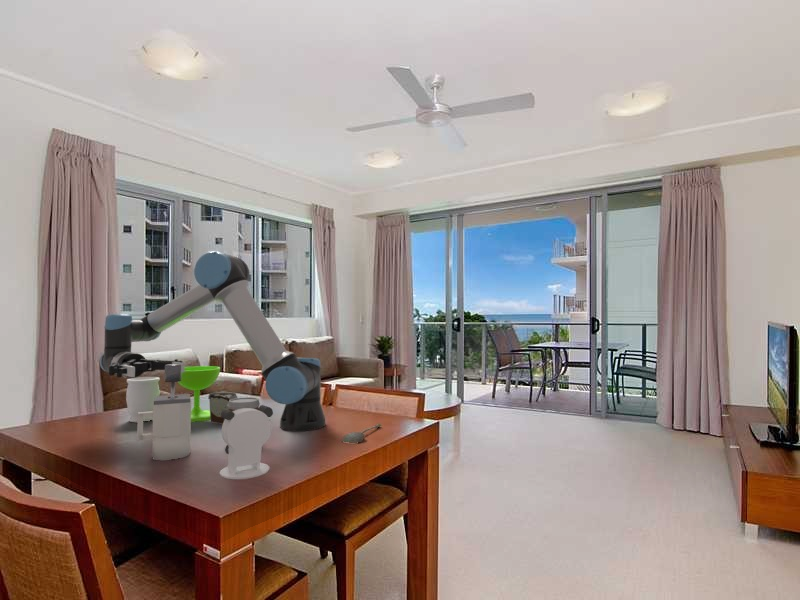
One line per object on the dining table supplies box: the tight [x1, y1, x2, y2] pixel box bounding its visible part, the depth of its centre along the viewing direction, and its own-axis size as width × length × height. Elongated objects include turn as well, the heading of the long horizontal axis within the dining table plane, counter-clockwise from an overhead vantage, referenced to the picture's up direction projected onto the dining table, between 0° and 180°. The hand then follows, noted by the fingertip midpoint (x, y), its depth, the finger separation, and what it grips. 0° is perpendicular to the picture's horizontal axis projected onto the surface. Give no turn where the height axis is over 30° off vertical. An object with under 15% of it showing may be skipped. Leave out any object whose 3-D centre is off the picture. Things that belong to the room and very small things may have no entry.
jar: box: [125, 376, 161, 423], centre depth 167 cm, size 11×10×15 cm
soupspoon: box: [341, 423, 383, 443], centre depth 146 cm, size 22×3×7 cm
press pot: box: [136, 393, 192, 461], centre depth 124 cm, size 13×9×16 cm
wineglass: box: [177, 365, 221, 423], centre depth 172 cm, size 16×16×18 cm
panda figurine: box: [219, 404, 274, 480], centre depth 113 cm, size 12×11×15 cm
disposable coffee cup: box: [227, 396, 261, 411], centre depth 141 cm, size 10×10×12 cm
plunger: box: [164, 364, 181, 398], centre depth 126 cm, size 4×4×17 cm
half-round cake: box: [208, 391, 238, 425], centre depth 165 cm, size 12×6×10 cm, turn 58°
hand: (159, 369), depth 131 cm, fingers open, 13 cm apart
